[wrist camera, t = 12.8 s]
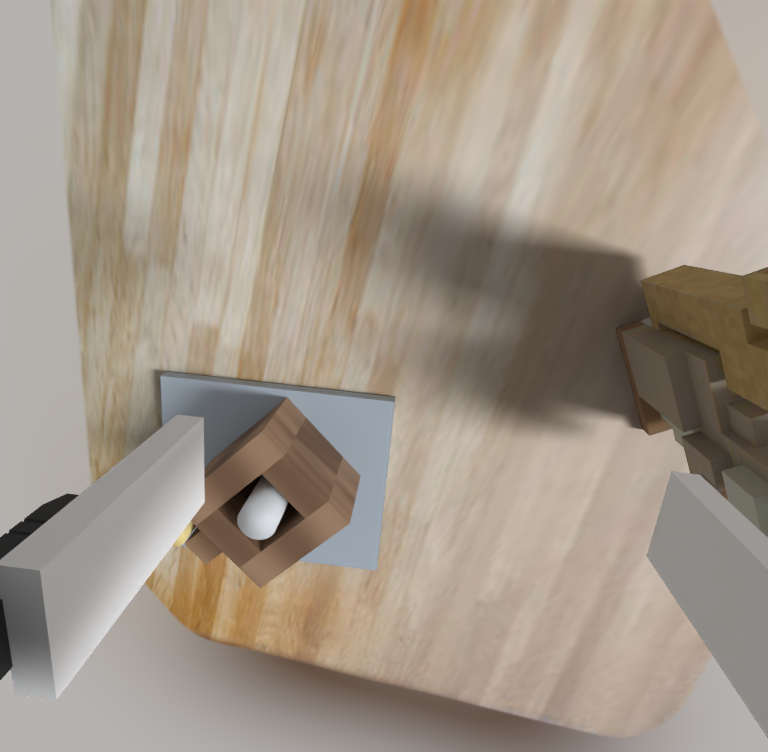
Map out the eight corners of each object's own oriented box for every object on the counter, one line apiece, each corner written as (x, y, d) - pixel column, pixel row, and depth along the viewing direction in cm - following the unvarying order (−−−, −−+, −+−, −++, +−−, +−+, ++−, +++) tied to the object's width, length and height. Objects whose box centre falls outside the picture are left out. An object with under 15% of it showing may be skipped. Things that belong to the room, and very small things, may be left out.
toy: (652, 460, 42) (841, 661, 23) (597, 262, 38) (776, 310, 19) (734, 436, 41) (1003, 625, 22) (687, 229, 37) (973, 244, 18)
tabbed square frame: (287, 397, 42) (261, 431, 35) (360, 475, 43) (349, 523, 36) (179, 486, 45) (137, 534, 38) (252, 556, 46) (223, 614, 40)
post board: (167, 371, 43) (102, 411, 34) (395, 396, 42) (388, 444, 33) (172, 536, 48) (117, 609, 39) (377, 561, 47) (367, 641, 38)
